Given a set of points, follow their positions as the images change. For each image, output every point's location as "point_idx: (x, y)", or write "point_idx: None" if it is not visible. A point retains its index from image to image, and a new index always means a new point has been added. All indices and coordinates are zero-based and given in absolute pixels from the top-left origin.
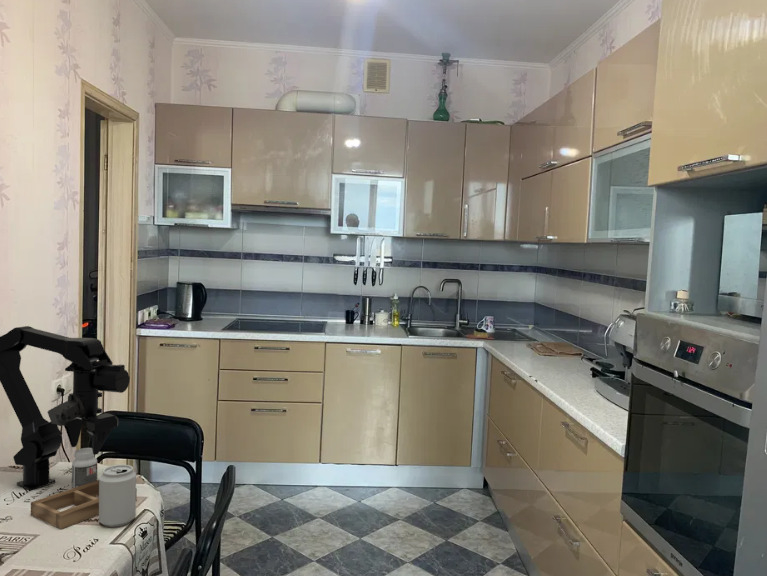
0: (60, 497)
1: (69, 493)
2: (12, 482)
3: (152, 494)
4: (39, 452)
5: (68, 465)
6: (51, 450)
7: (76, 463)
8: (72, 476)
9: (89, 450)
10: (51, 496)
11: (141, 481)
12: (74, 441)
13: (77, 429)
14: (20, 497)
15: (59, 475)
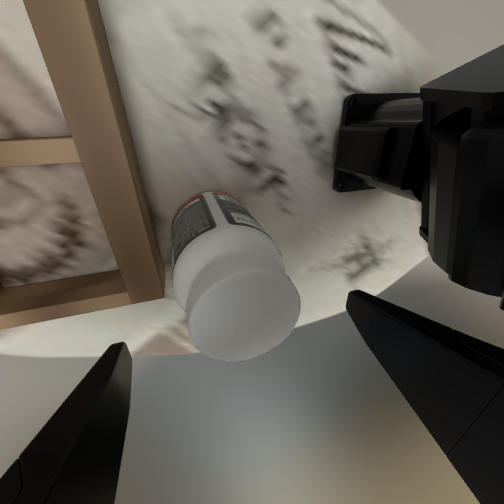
0: (42, 50)
1: (64, 113)
2: None
3: (11, 352)
4: (467, 127)
5: (396, 264)
6: (433, 206)
7: (217, 241)
8: (229, 207)
9: (234, 339)
10: (66, 4)
11: (153, 353)
12: (369, 322)
13: (435, 407)
14: (320, 29)
15: (366, 223)
